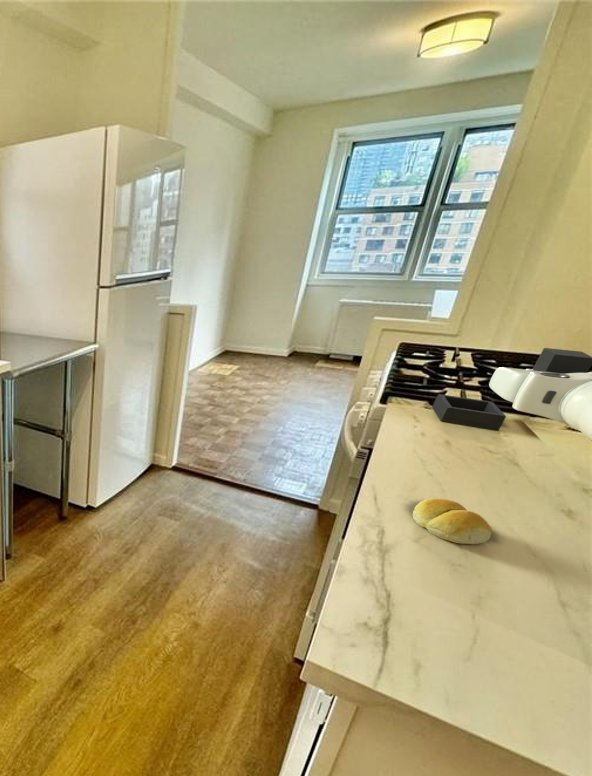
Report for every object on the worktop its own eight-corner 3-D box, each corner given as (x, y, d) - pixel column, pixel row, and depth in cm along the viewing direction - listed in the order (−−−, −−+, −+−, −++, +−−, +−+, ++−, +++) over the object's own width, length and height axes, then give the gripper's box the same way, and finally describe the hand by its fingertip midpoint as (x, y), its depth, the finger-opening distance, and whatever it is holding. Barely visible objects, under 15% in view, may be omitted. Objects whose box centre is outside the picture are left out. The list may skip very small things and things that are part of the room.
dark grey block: (552, 403, 90) (582, 351, 86) (563, 412, 86) (595, 358, 82) (516, 398, 93) (543, 347, 88) (525, 407, 89) (554, 354, 84)
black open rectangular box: (485, 415, 114) (492, 401, 112) (498, 430, 106) (506, 416, 105) (431, 407, 118) (438, 393, 117) (440, 421, 111) (447, 407, 109)
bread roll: (444, 510, 79) (455, 490, 77) (497, 545, 71) (511, 523, 69) (395, 511, 78) (405, 490, 77) (443, 546, 70) (455, 524, 69)
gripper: (704, 392, 71) (644, 366, 82) (521, 373, 79) (488, 351, 90) (676, 431, 74) (621, 401, 85) (502, 408, 82) (473, 384, 93)
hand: (552, 375), depth 88 cm, fingers closed on dark grey block, 5 cm apart
